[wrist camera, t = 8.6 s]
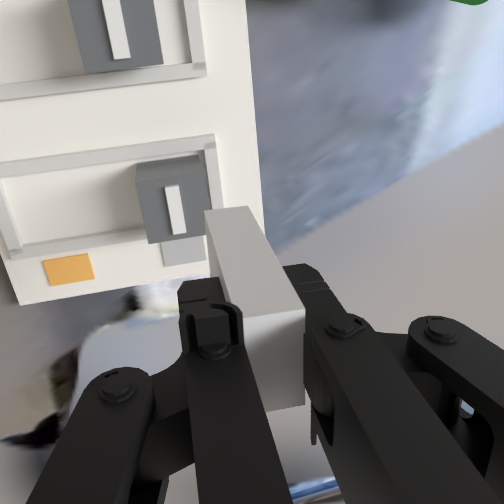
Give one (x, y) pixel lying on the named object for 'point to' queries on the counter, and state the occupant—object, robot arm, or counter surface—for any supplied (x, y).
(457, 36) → the counter surface
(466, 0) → the green notched bracket
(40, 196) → the switch board
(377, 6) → the counter surface
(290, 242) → the counter surface
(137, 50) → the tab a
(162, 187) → the grey cube
